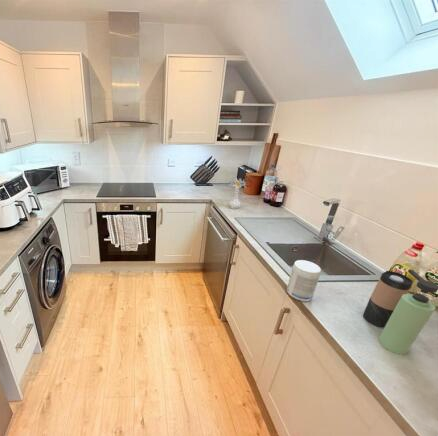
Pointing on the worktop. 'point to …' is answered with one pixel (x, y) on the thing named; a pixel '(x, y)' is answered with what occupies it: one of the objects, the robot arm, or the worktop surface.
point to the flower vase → (236, 192)
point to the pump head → (424, 283)
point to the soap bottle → (406, 323)
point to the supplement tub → (303, 280)
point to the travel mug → (386, 297)
